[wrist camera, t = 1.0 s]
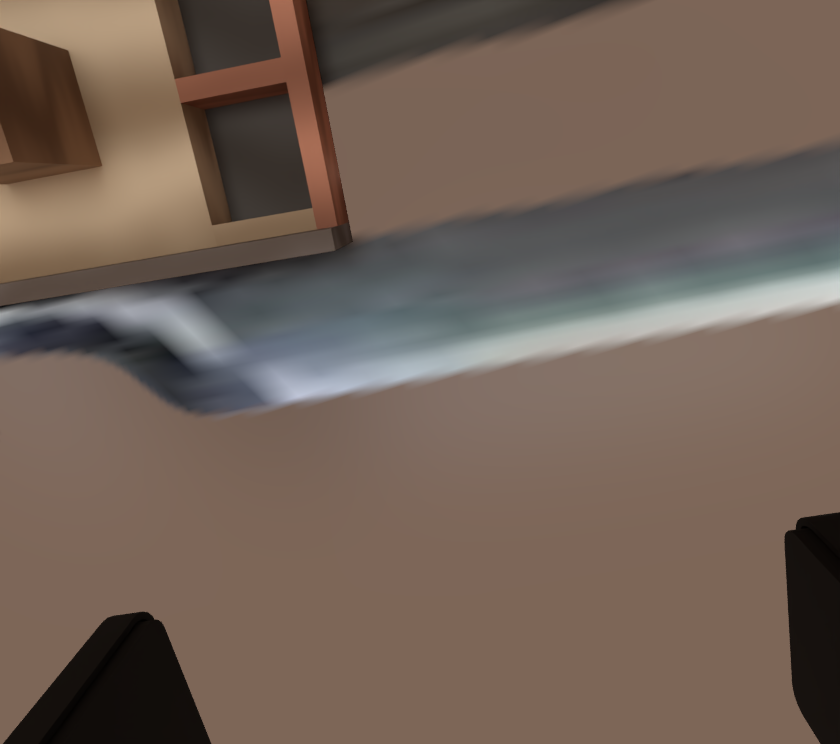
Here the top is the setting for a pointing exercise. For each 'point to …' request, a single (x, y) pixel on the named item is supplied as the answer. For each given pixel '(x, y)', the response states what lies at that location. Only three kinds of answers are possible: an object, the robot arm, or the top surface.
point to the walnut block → (41, 112)
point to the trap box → (176, 146)
